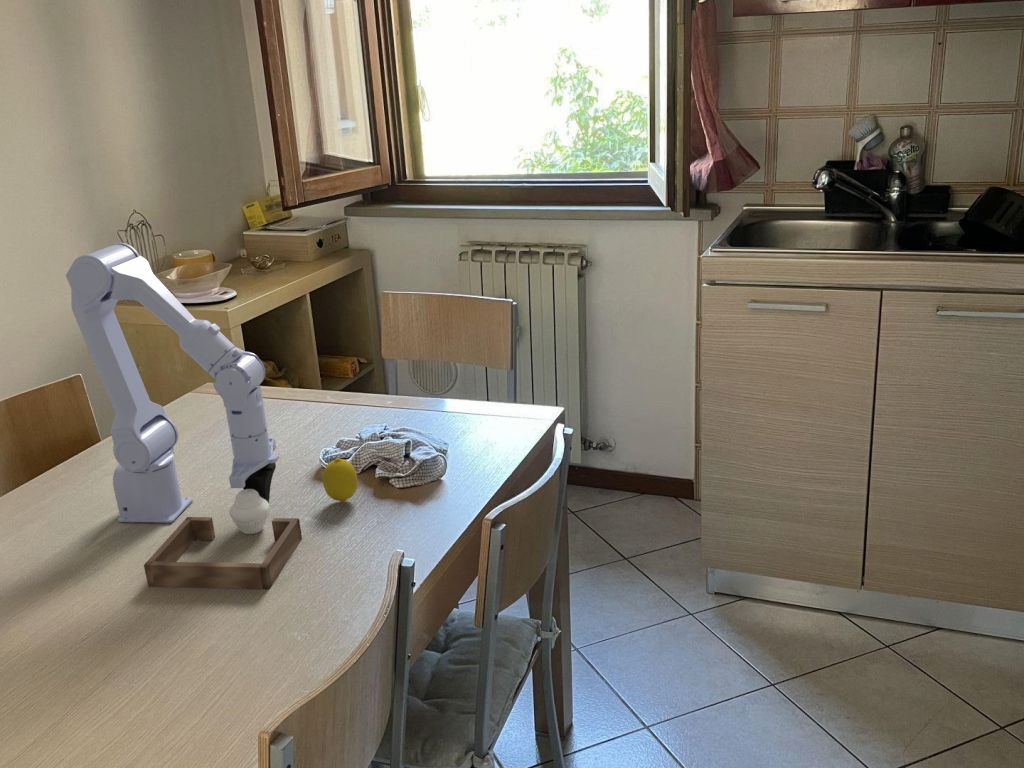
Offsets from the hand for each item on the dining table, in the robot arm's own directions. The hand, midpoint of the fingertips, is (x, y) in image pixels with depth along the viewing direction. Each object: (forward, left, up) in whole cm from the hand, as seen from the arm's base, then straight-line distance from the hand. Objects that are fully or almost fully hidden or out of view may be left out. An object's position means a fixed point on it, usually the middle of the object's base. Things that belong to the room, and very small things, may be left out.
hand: (261, 508), depth 151 cm
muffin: (0, -4, -2) cm, 5 cm away
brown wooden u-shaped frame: (0, -14, -1) cm, 14 cm away
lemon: (+12, +5, -2) cm, 13 cm away
